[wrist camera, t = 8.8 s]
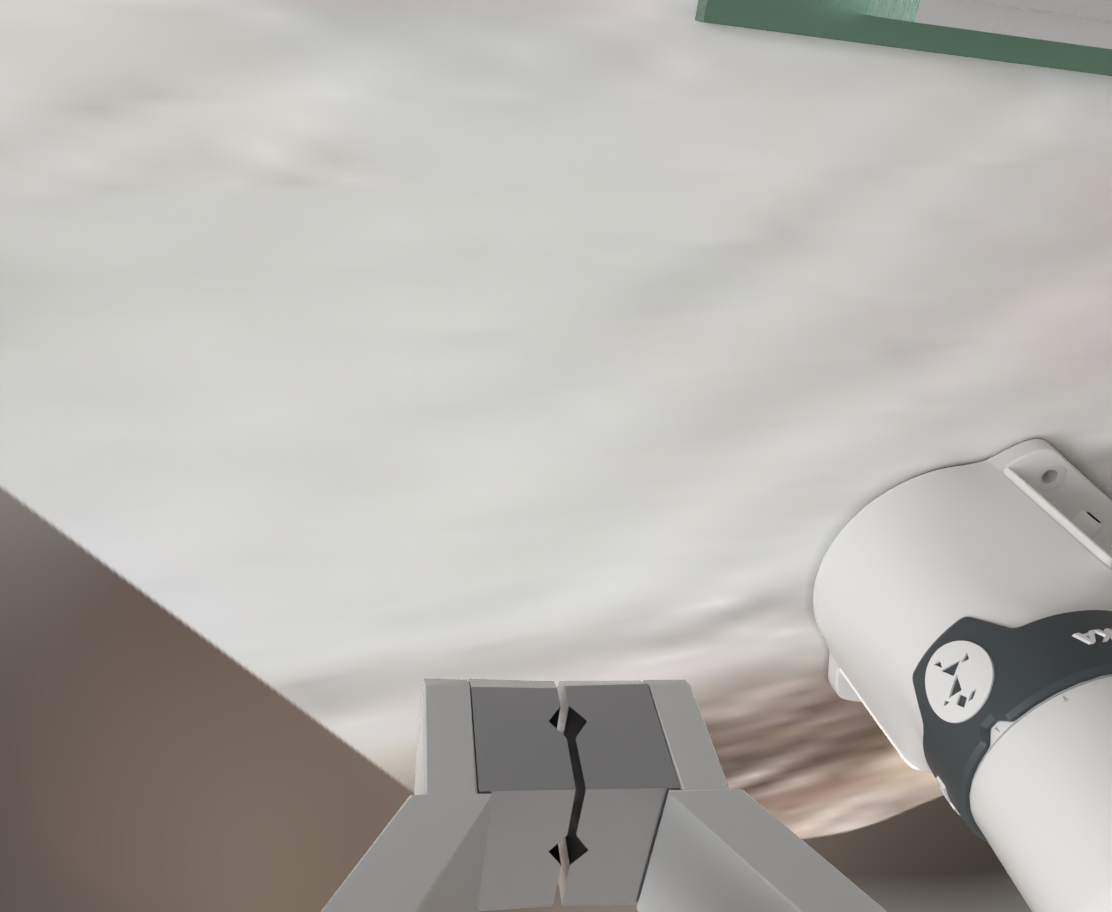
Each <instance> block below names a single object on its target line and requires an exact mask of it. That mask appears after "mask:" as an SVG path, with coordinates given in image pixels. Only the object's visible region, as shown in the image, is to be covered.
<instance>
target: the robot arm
mask: <svg viewBox="0 0 1112 912" xmlns="http://www.w3.org/2000/svg"><path fill="white" fill-rule="evenodd" d="M1047 471H1048V472H1047ZM1045 472H1047V473H1046V474H1045V475H1044V473H1045ZM1043 475H1044V476H1043ZM813 606H814V614H815V618H816V622H817V625H818V627H819V630H820V631H821V633H822V635H823V637H824V639H825V641H826V643H827V645H828V648H829V652H830V657H829V668H828V677H829V682H830V685H831V686H832V687H833V689H834V690H835V692H836V693H837V694H838V695H839V696H840V697H841V698H843V699H846V700H850V701H857V702H862V703H863V704H864V706H865V707H866V708H867V710H868V711H869V713H870V714H871V716H872V717H873V718H874V720H875V721H876V723H877V724H878V725H879V727H880V728H881V729H882V731H883V732H884V734H885V735H886V736H887V738H888V739H889V741H890V742H891V743H892V745H893V746H894V747H895V749H896V750H897V752H898V753H899V754H900V756H901V757H902V758H903V760H904V761H905V762H906V763H907V764H908V765H909V766H910V767H911V768H913V769H914V770H917V771H919V770H923V771H926V772H929V773H933V774H934V776H935V778H936V779H937V781H938V783H939V784H940V786H939V787H940V789H941V791H942V793H943V794H944V796H945V797H946V799H947V801H948V802H949V803H950V805H951V806H952V808H953V809H954V810H955V811H957V813H958V814H959V815H960V816H961V817H962V818H963V820H964V821H965V823H966V824H967V826H968V827H969V828H970V829H971V830H972V831H973V832H974V833H975V835H977V836H978V837H980V838H981V839H983V840H984V841H986V842H988V843H989V844H990V845H991V847H992V849H993V850H994V852H995V853H996V855H997V857H998V858H999V860H1000V861H1001V863H1002V865H1003V866H1004V868H1005V869H1006V871H1007V873H1008V874H1009V876H1010V877H1011V879H1012V880H1013V882H1014V884H1015V885H1016V887H1017V888H1018V890H1019V892H1020V893H1021V895H1022V896H1023V898H1024V899H1025V901H1026V903H1027V904H1028V906H1029V907H1030V909H1031V910H1032V912H1112V500H1111V499H1110V498H1108V497H1107V496H1106V495H1105V494H1104V493H1103V492H1102V491H1101V490H1100V489H1099V488H1098V487H1096V486H1095V485H1094V484H1093V483H1092V482H1091V481H1090V480H1089V479H1088V478H1087V477H1085V476H1084V475H1083V474H1082V473H1081V472H1080V471H1079V470H1078V469H1077V468H1076V467H1075V466H1073V465H1072V464H1071V463H1070V462H1069V461H1068V460H1067V459H1066V458H1065V457H1064V456H1063V455H1061V454H1060V453H1059V452H1058V451H1057V450H1056V449H1055V448H1054V447H1053V446H1052V445H1050V444H1049V443H1048V442H1046V441H1045V440H1042V439H1032V440H1028V441H1025V442H1022V443H1019V444H1017V445H1015V446H1013V447H1011V448H1009V449H1007V450H1005V451H1003V452H1001V453H999V454H997V455H995V456H993V457H991V458H989V459H987V460H985V461H981V462H977V463H973V464H967V465H961V466H955V467H948V468H944V469H939V470H935V471H932V472H928V473H925V474H923V475H920V476H917V477H915V478H912V479H910V480H907V481H905V482H903V483H901V484H899V485H897V486H895V487H894V488H892V489H890V490H888V491H887V492H885V493H884V494H882V495H880V496H879V497H878V498H876V499H875V500H873V501H872V502H871V503H869V504H868V505H867V506H866V507H864V508H863V509H862V510H861V511H860V512H859V513H858V514H857V515H856V516H854V517H853V518H852V519H851V520H850V522H849V523H848V524H847V525H846V526H845V527H844V528H843V529H842V531H841V532H840V533H839V534H838V536H837V537H836V538H835V540H834V541H833V543H832V544H831V546H830V548H829V549H828V551H827V553H826V555H825V557H824V559H823V561H822V563H821V565H820V568H819V571H818V574H817V577H816V581H815V586H814V594H813ZM557 883H559V889H560V896H561V902H562V906H572V905H638V906H637V910H638V911H639V912H887V911H886V910H884V909H883V908H882V907H881V906H880V905H879V904H877V903H876V902H875V901H874V900H872V899H871V898H870V897H869V896H868V895H867V894H865V893H864V892H863V891H862V890H861V889H860V888H858V887H857V886H856V885H855V884H854V883H853V882H851V881H850V880H849V879H848V878H847V877H845V876H844V875H843V874H842V873H841V872H839V871H838V870H837V869H836V868H835V867H834V866H832V865H831V864H830V863H829V862H828V861H826V860H825V859H824V858H823V857H821V855H819V854H818V853H817V852H816V851H815V850H813V849H812V848H811V847H810V846H809V845H807V844H806V843H805V842H804V841H803V840H802V839H800V838H799V837H798V836H797V835H796V834H794V833H793V832H792V831H791V830H790V829H789V828H787V827H786V826H785V825H784V824H783V823H781V822H780V821H779V820H778V819H777V818H775V817H774V816H773V815H772V814H771V813H770V812H768V811H767V810H766V809H765V808H764V807H762V806H761V805H760V804H759V803H758V802H757V801H755V800H754V799H753V798H752V797H751V796H749V795H748V794H747V793H746V792H745V791H744V790H742V789H729V786H728V784H727V781H726V778H725V776H724V773H723V770H722V768H721V765H720V762H719V760H718V757H717V754H716V752H715V749H714V746H713V744H712V741H711V738H710V736H709V733H708V730H707V728H706V725H705V722H704V720H703V717H702V714H701V712H700V709H699V706H698V704H697V701H696V698H695V696H694V693H693V690H692V688H691V686H690V685H689V684H688V683H687V682H686V681H685V680H644V681H643V682H642V681H560V683H559V685H558V687H556V685H555V683H554V681H520V680H485V679H469V681H468V682H467V680H450V679H424V680H423V684H422V692H421V705H420V717H419V729H418V741H417V755H416V773H415V790H414V795H410V796H409V797H408V799H407V800H406V801H405V803H404V804H403V805H402V806H401V808H400V809H399V811H398V812H397V813H396V814H395V816H394V817H393V818H392V819H391V821H390V822H389V824H388V825H387V826H386V827H385V829H384V830H383V831H382V832H381V834H380V835H379V836H378V838H377V839H376V840H375V842H374V843H373V844H372V846H371V847H370V848H369V850H368V851H367V852H366V853H365V855H364V856H363V857H362V859H361V860H360V861H359V862H358V864H357V865H356V866H355V868H354V869H353V870H352V872H351V873H350V874H349V876H348V877H347V878H346V880H345V881H344V882H343V883H342V885H341V886H340V887H339V889H338V890H337V891H336V892H335V894H334V895H333V896H332V898H331V899H330V900H329V902H328V903H327V904H326V906H325V907H324V908H323V909H322V911H321V912H477V911H487V910H502V909H516V908H530V907H544V906H553V901H554V897H555V892H556V887H557Z"/></svg>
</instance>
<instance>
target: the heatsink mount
mask: <svg viewBox="0 0 1112 912" xmlns="http://www.w3.org/2000/svg"><path fill="white" fill-rule="evenodd" d="M695 20H697V21H701V22H707V23H714V24H722V25H729V26H737V27H745V28H752V29H760V30H767V31H775V32H783V33H790V34H798V35H805V36H813V37H821V38H828V39H836V40H844V41H851V42H859V43H866V44H874V45H882V46H889V47H897V48H904V49H912V50H920V51H927V52H935V53H943V54H950V55H958V56H965V57H973V58H981V59H988V60H996V61H1003V62H1011V63H1019V64H1026V65H1034V66H1041V67H1049V68H1057V69H1064V70H1072V71H1080V72H1087V73H1095V74H1102V75H1110V76H1112V0H699V1H698V7H697V13H696V18H695Z"/></svg>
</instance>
